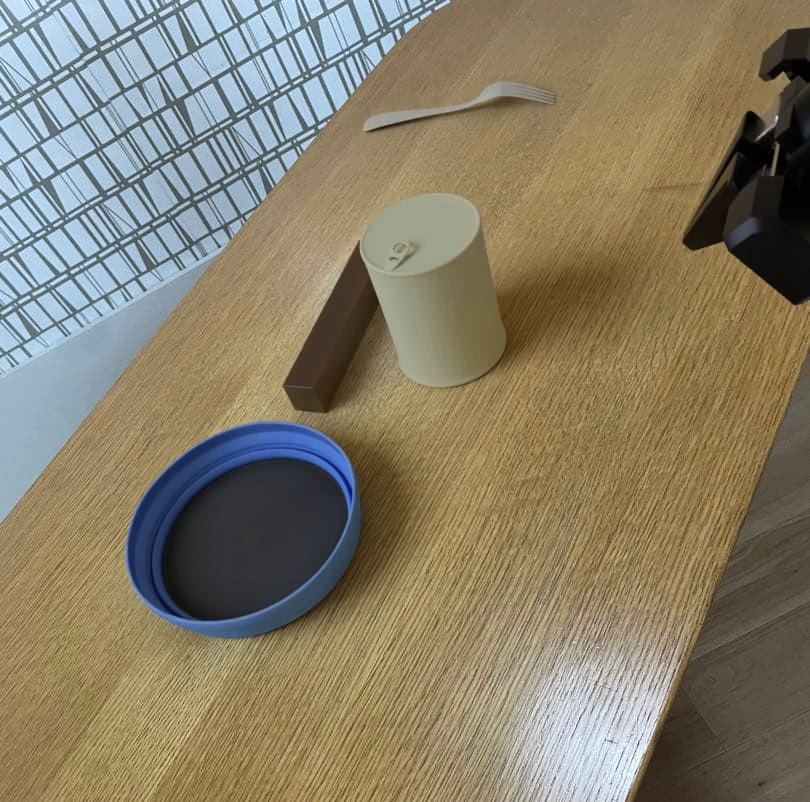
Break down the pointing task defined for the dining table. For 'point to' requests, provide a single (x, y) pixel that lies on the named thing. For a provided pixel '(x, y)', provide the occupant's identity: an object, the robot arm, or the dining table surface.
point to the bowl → (245, 530)
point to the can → (435, 288)
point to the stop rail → (333, 339)
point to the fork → (488, 93)
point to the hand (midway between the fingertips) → (687, 243)
